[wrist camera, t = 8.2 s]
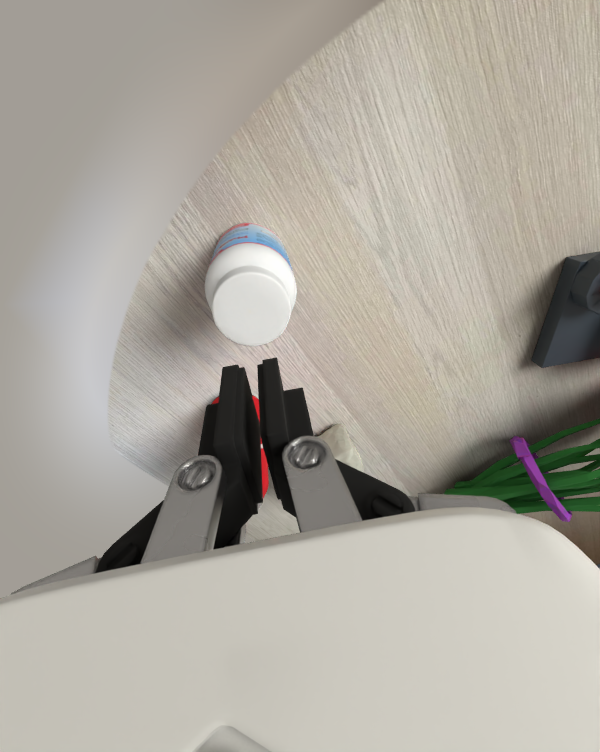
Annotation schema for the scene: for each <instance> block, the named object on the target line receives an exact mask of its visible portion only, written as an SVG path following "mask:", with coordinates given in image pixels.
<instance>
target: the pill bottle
mask: <svg viewBox="0 0 600 752" xmlns="http://www.w3.org/2000/svg"><path fill="white" fill-rule="evenodd" d="M205 295H206V299H207V302H208V305H209V307H210V309H211V311H212V315H213V319H214V322H215V324H216V326H217V328H218V329H219V330H220V332H221V333H222V334H223V335H224V336H225V337H227V338H228V339H229V340H231V341H233V342H235V343H237V344H240V345H244V346H261V345H265V344H267V343H270V342H272V341H274V340H275V339H276V338H278V337H279V336H280V335H281V334H282V333H283V332H284V330H285V328H286V327H287V325H288V322H289V319H290V314H291V312H292V310H293V307H294V305H295V301H296V296H297V287H296V281H295V277H294V274H293V271H292V267H291V265H290V261H289V258H288V255H287V252H286V249H285V247H284V245H283V243H282V241H281V240H280V238H279V237H278V236H277V235H276V234H275V233H274V232H273V231H271V230H270V229H268V228H266V227H264V226H262V225H260V224H256V223H240V224H237V225H234V226H232V227H231V228H229V229H228V230H227V231H225V233H224V234H223V235H222V236H221V238H220V239H219V241H218V243H217V245H216V248H215V251H214V254H213V256H212V259H211V262H210V265H209V268H208V271H207V275H206V279H205Z"/></svg>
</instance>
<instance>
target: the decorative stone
mask: <svg viewBox="0 0 600 752" xmlns="http://www.w3.org/2000/svg"><path fill="white" fill-rule="evenodd" d="M317 437H318V438H321V439H323V440H324V441H325V442H327V444H328V445H329V447H330V449H331V451H332V453H333V456H334V458H335V459H337V460H339V461H341V462H343V463H345V464H347V465H349V466H351V467H353V468H355V469H357V470H359V471H361V472H363V465H362V460H361V458H360V455H359V453H358V451H357V449H356V448H355V446H354V445H353V443H352V441H351V439H350V437H349V435H348V433H347V431H346V428H345V426H344V425H342V424H337V425H334V426H332V427H331V428H330V429H328V430H326V431H325V432H324V433H323V434H322V435H320V436H317Z"/></svg>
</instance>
